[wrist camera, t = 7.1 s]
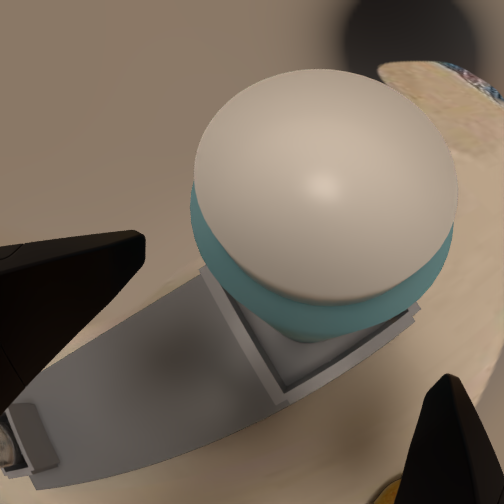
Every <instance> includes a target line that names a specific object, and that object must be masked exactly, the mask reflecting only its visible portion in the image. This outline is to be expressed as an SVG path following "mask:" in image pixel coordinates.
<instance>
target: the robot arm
mask: <svg viewBox="0 0 504 504" xmlns="http://www.w3.org/2000/svg"><path fill="white" fill-rule="evenodd" d="M145 242H146V239H145V236H144V235H143V234H141V233H139V232H137V231H135V230H126V231H117V232H108V233H101V234H91V235H84V236H75V237H67V238H59V239H52V240H45V241H37V242H31V243H25V244H16V245H8V246H1V247H0V416H1V415H2V414H3V413H4V412H5V410H6V409H7V408H8V407H9V406H10V405H11V404H12V402H13V401H14V400H15V399H16V398H17V397H18V396H19V395H20V394H21V392H22V391H23V390H24V389H25V388H26V387H27V386H28V385H29V383H30V382H31V381H32V380H33V379H34V378H35V377H36V376H37V375H38V374H39V373H40V372H41V371H42V370H43V369H44V368H45V366H46V365H47V364H48V363H49V362H50V361H51V360H52V359H53V358H54V357H55V356H56V355H57V354H58V353H59V352H60V351H61V350H62V349H63V348H64V347H65V346H66V345H67V344H68V343H69V342H70V341H71V340H72V339H73V338H74V337H75V336H76V335H77V334H78V333H79V332H80V331H81V330H82V329H83V328H84V327H85V326H86V325H87V324H88V323H89V322H90V321H91V320H92V319H93V318H94V317H95V316H96V315H97V314H98V313H99V312H100V311H101V310H103V309H104V307H106V306H107V305H108V304H109V303H110V302H111V301H112V300H113V299H114V297H115V296H116V295H117V294H118V293H119V292H120V291H121V289H122V288H123V287H124V286H125V285H126V284H127V283H128V282H129V280H130V279H131V278H132V277H133V276H134V275H135V274H136V273H137V271H138V270H139V269H140V268H141V267H142V266H143V264H144V262H145V247H146V246H145V245H146V243H145ZM393 504H504V474H503V472H502V469H501V467H500V464H499V462H498V459H497V456H496V454H495V452H494V449H493V447H492V445H491V442H490V440H489V438H488V435H487V433H486V431H485V429H484V427H483V425H482V422H481V420H480V419H479V416H478V414H477V412H476V410H475V408H474V406H473V404H472V402H471V400H470V398H469V396H468V394H467V392H466V390H465V388H464V386H463V384H462V383H461V381H460V379H459V378H458V377H456V376H454V375H451V374H444V375H443V376H442V377H441V378H440V379H439V380H438V381H437V382H436V383H435V385H434V386H433V387H432V388H431V389H430V390H429V391H428V392H427V394H426V396H425V398H424V401H423V405H422V409H421V412H420V416H419V419H418V422H417V425H416V429H415V432H414V435H413V438H412V441H411V444H410V448H409V452H408V455H407V459H406V463H405V467H404V471H403V474H402V478H401V481H400V485H399V488H398V491H397V494H396V497H395V500H394V503H393Z"/></svg>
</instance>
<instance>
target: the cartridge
mask: <svg viewBox="0 0 504 504" xmlns="http://www.w3.org/2000/svg"><path fill="white" fill-rule="evenodd" d="M457 204H458V181H457V173H456V169H455V165H454V161H453V158H452V156H451V153H450V150H449V148H448V146H447V144H446V142H445V140H444V138H443V137H442V135H441V133H440V132H439V130H438V129H437V127H436V126H435V125H434V123H433V122H432V121H431V120H430V119H429V117H428V116H427V115H426V114H425V113H424V112H423V111H422V110H421V109H420V108H419V107H418V106H416V105H415V104H414V103H413V102H412V101H410V100H409V99H408V98H406V97H405V96H404V95H402V94H401V93H399V92H397V91H396V90H394V89H392V88H391V87H389V86H387V85H385V84H383V83H380V82H378V81H376V80H373V79H370V78H368V77H365V76H361V75H358V74H354V73H349V72H345V71H338V70H328V69H327V70H326V69H309V70H298V71H291V72H287V73H283V74H279V75H275V76H272V77H269V78H266V79H264V80H262V81H260V82H257V83H255V84H253V85H251V86H249V87H248V88H246V89H244V90H243V91H241V92H240V93H238V94H237V95H236V96H234V97H233V98H232V99H230V100H229V101H228V102H227V103H226V104H225V105H224V106H223V107H222V108H221V109H220V110H219V111H218V112H217V114H216V115H215V116H214V117H213V119H212V120H211V122H210V123H209V125H208V126H207V128H206V130H205V132H204V133H203V136H202V138H201V141H200V143H199V146H198V150H197V154H196V158H195V166H194V183H193V187H192V192H191V203H190V211H191V224H192V228H193V233H194V237H195V241H196V243H197V246H198V249H199V251H200V254H201V256H202V258H203V260H204V261H205V263H206V265H207V267H208V269H209V270H210V272H211V273H212V274H213V276H214V277H215V278H216V280H217V281H218V282H219V283H220V285H221V286H222V287H223V288H224V289H225V290H226V291H227V292H228V293H229V294H230V295H231V296H232V297H234V298H235V299H236V300H237V301H238V302H240V303H241V304H242V305H244V306H245V307H246V308H248V309H249V310H250V311H251V312H253V313H254V314H255V315H257V316H258V317H259V318H261V319H262V320H263V321H265V322H266V323H267V324H269V325H270V326H272V327H273V328H274V329H276V330H277V331H278V332H280V333H281V334H282V335H284V336H285V337H287V338H289V339H291V340H294V341H296V342H301V343H315V342H320V341H324V340H328V339H331V338H335V337H339V336H342V335H346V334H349V333H352V332H356V331H359V330H362V329H366V328H369V327H372V326H374V325H377V324H380V323H382V322H384V321H387V320H389V319H391V318H393V317H395V316H396V315H398V314H400V313H401V312H403V311H405V310H406V309H407V308H409V307H410V306H411V305H412V304H413V303H415V302H416V301H417V300H418V299H419V298H420V297H421V296H422V295H423V294H424V293H425V292H426V291H427V290H428V288H429V287H430V286H431V285H432V284H433V282H434V280H435V279H436V277H437V276H438V274H439V273H440V271H441V269H442V267H443V265H444V262H445V260H446V258H447V255H448V252H449V248H450V244H451V241H452V234H453V224H454V218H455V214H456V209H457Z"/></svg>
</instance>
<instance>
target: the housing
mask: <svg viewBox="0 0 504 504" xmlns="http://www.w3.org/2000/svg"><path fill="white" fill-rule="evenodd" d="M199 271H200V273H201V274H200V275H198V276H197V277H195V278H193V279H192V280H190V281H188V282H187V283H185V284H183V285H182V286H180V287H178V288H177V289H175V290H173V291H172V292H170V293H169V294H167V295H165V296H164V297H162V298H160V299H159V300H157V301H155V302H154V303H152V304H150V305H149V306H147V307H146V308H144V309H142V310H141V311H139V312H137V313H136V314H134V315H132V316H131V317H129V318H128V319H126V320H124V321H123V322H121V323H119V324H118V325H116V326H114V327H113V328H111V329H110V330H108V331H106V332H105V333H103V334H101V335H100V336H98V337H97V338H95V339H93V340H92V341H90V342H88V343H87V344H85V345H84V346H82V347H80V348H79V349H77V350H76V351H74V352H72V353H71V354H69V355H67V356H66V357H64V358H63V359H61V360H59V361H58V362H56V363H55V364H53V365H51V366H50V367H48V368H46V369H45V370H43V371H42V372H40V373H39V374H38V375H37V376H36V377H35V378H34V379H33V380H32V381H31V382H30V383H29V385H28V386H27V387H26V388H25V389H24V390H23V391H22V392H21V394H20V395H19V396H18V397H17V398H16V399H15V400H14V401H13V402H12V404H11V405H10V406H9V407H8V408H7V409H6V410H5V412H4V413H3V414H2V415H1V416H0V422H2V421H9V423H10V425H11V428H12V430H13V433H14V435H15V438H16V440H17V443H18V445H19V447H20V450H21V452H22V454H23V456H24V458H25V460H26V463H22V464H18V465H13V466H8V467H4V468H1V470H2V472H3V474H4V476H8V478H9V479H11V478H17V477H23V476H28V475H29V477H30V479H31V481H32V483H33V485H34V487H35V489H36V490H43V489H50V488H57V487H63V486H69V485H74V484H80V483H85V482H89V481H94V480H98V479H103V478H107V477H111V476H115V475H119V474H122V473H126V472H130V471H133V470H137V469H140V468H143V467H146V466H150V465H153V464H156V463H159V462H162V461H165V460H168V459H171V458H173V457H176V456H179V455H182V454H185V453H187V452H190V451H192V450H195V449H198V448H200V447H203V446H205V445H208V444H210V443H212V442H215V441H217V440H219V439H222V438H224V437H226V436H229V435H231V434H233V433H235V432H238V431H240V430H242V429H244V428H246V427H248V426H250V425H252V424H254V423H257V422H259V421H261V420H263V419H265V418H267V417H269V416H270V415H272V414H274V413H276V412H278V411H280V410H282V409H284V408H286V407H288V406H289V405H291V404H293V403H295V402H297V401H298V400H300V399H302V398H304V397H306V396H307V395H309V394H311V393H312V392H314V391H316V390H317V389H319V388H321V387H323V386H324V385H326V384H327V383H329V382H331V381H332V380H334V379H335V378H337V377H339V376H340V375H342V374H343V373H345V372H346V371H348V370H350V369H351V368H353V367H354V366H356V365H357V364H359V363H360V362H361V361H363V360H364V359H366V358H367V357H369V356H370V355H372V354H373V353H374V352H376V351H377V350H379V349H380V348H381V347H383V346H384V345H386V344H387V343H388V342H390V341H391V340H392V339H394V338H395V337H396V336H398V334H400V333H401V332H402V331H404V330H405V329H406V328H408V327H409V326H410V325H411V324H413V323H414V322H415V320H414V318H413V317H412V316H413V315H414V314H416V313H417V312H418V311H419V310H421V308H420V307H419V305H418V303H417V302H415V303H413V304H412V305H411V306H410V307H409V308H407V309H406V310H405V311H403V312H401V313H400V314H398V315H396V316H395V317H393V318H392V319H390V320H387V321H384V322H382V323H380V324H377V325H374V326H372V327H369V328H366V329H362V330H359V331H356V332H352V333H349V334H346V335H342V336H339V337H335V338H331V339H328V340H324V341H320V342H315V343H301V342H296V341H294V340H291V339H289V338H287V337H285V336H284V335H282V334H281V333H280V332H278V331H277V330H276V329H274V328H273V327H272V326H270V325H269V324H267V323H266V322H265V321H263V320H262V319H261V318H259V317H258V316H257V315H255V314H254V313H253V312H251V311H250V310H249V309H248V308H246V307H245V306H244V305H242V304H241V303H240V302H238V301H237V300H236V299H235V298H234V297H232V296H231V295H230V294H229V293H228V292H227V291H226V290H225V289H224V288H223V287H222V286H221V285H220V283H219V282H218V281H217V280H216V278H215V277H214V276H213V274H212V273H211V272H210V270H209V269H208V267H207V265H205V266H203V267H202V268H200V269H199Z"/></svg>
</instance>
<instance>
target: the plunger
mask: <svg viewBox="0 0 504 504" xmlns="http://www.w3.org/2000/svg"><path fill="white" fill-rule="evenodd" d="M22 463H26V460H25V458H24V456H23V454H22V452H21V450H20V447H19V445H18V443H17V440H16V438H15V435H14V433H13V430H12V428H11V425H10V423H9V421H2V422H0V468H4V467H8V466H13V465H18V464H22Z"/></svg>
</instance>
